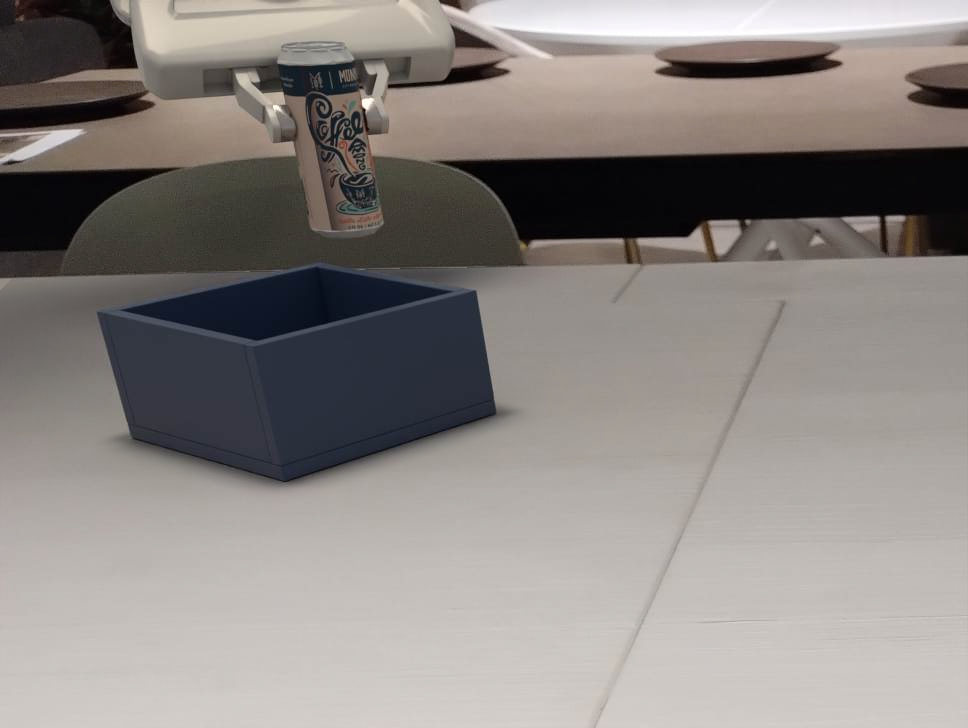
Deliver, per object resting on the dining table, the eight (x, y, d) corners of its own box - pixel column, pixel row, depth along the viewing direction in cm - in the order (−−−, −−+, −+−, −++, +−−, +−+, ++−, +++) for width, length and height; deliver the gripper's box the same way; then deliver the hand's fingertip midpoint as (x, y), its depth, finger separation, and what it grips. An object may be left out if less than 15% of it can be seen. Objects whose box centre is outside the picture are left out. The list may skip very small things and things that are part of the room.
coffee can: (349, 242, 112) (312, 48, 107) (296, 236, 114) (257, 46, 108) (400, 229, 116) (367, 41, 110) (348, 224, 118) (313, 39, 112)
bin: (130, 437, 91) (95, 311, 87) (344, 377, 100) (319, 262, 97) (284, 481, 84) (253, 346, 81) (497, 412, 94) (476, 290, 90)
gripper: (94, -68, 106) (162, 113, 104) (418, -76, 116) (486, 89, 114) (101, 4, 112) (166, 178, 109) (410, -10, 122) (475, 149, 119)
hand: (332, 132), depth 112 cm, fingers closed on coffee can, 5 cm apart
